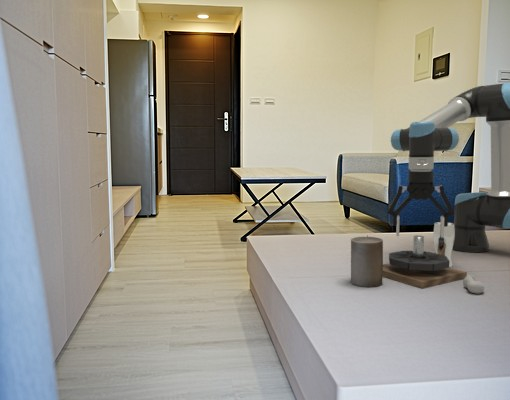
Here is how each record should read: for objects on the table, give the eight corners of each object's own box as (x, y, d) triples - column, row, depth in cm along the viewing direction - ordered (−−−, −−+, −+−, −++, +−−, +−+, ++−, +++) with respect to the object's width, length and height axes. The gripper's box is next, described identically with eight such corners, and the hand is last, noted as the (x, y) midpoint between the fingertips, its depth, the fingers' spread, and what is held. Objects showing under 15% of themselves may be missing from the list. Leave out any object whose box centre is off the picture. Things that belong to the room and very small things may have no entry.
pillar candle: (383, 279, 150) (384, 233, 148) (381, 288, 140) (381, 238, 139) (352, 277, 153) (352, 231, 151) (348, 286, 144) (348, 237, 142)
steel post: (417, 267, 157) (418, 234, 156) (426, 269, 154) (427, 236, 152) (409, 269, 155) (410, 235, 154) (418, 271, 152) (419, 237, 150)
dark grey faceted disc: (414, 254, 166) (414, 248, 166) (459, 265, 151) (460, 258, 151) (377, 261, 157) (377, 255, 157) (422, 273, 142) (422, 266, 141)
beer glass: (455, 268, 163) (457, 225, 161) (434, 267, 164) (435, 224, 163) (451, 263, 170) (452, 222, 168) (430, 262, 171) (432, 221, 170)
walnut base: (413, 264, 169) (413, 258, 169) (466, 278, 151) (466, 272, 151) (370, 272, 158) (370, 267, 158) (422, 288, 140) (422, 282, 140)
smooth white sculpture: (484, 299, 134) (466, 293, 135) (476, 290, 142) (459, 284, 142) (489, 285, 133) (471, 279, 134) (482, 277, 141) (464, 271, 142)
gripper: (380, 171, 150) (380, 237, 153) (465, 170, 144) (463, 239, 147) (380, 170, 157) (379, 232, 160) (460, 169, 151) (458, 234, 154)
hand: (419, 236), depth 153 cm, fingers open, 13 cm apart
